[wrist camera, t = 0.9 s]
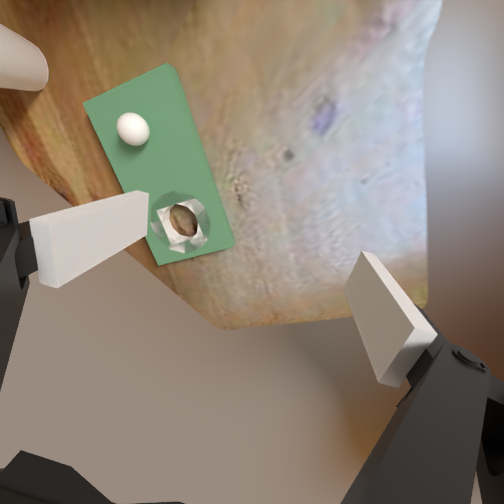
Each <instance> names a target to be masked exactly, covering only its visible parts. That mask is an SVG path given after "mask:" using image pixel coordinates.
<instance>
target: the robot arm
mask: <svg viewBox="0 0 504 504" xmlns="http://www.w3.org/2000/svg"><path fill="white" fill-rule="evenodd" d="M148 202H149V193H146V192H142V191H138V190H136V191H132V192H128V193H125V194H121V195H117V196H113V197H110V198H106V199H102V200H99V201H95V202H91V203H87V204H84V205H80V206H76V207H73V208H69V209H65V210H62V211H58V212H54V213H50V214H47V215H43V216H39V217H35V218H32V219H29V221H27V222H23V223H20V224H18V219H17V213H16V208H15V203H14V201H12V200H10V199H6V198H1V197H0V390H1V386H2V383H3V379H4V375H5V372H6V368H7V364H8V361H9V357H10V353H11V350H12V346H13V342H14V339H15V335H16V331H17V328H18V324H19V320H20V317H21V313H22V309H23V306H24V302H25V298H26V295H27V291H28V287H29V284H30V282H29V277H28V275H29V274H31V273H33V272H35V271H37V270H38V275H39V282H40V283H41V284H44V285H47V286H51V287H55V288H59V287H60V286H62V285H64V284H65V283H67V282H69V281H71V280H72V279H74V278H76V277H77V276H79V275H81V274H82V273H84V272H85V271H87V270H89V269H91V268H92V267H94V266H96V265H97V264H99V263H101V262H102V261H104V260H106V259H107V258H109V257H111V256H112V255H114V254H116V253H117V252H119V251H121V250H122V249H124V248H126V247H127V246H129V245H131V244H132V243H134V242H136V241H137V240H139V239H141V238H142V237H144V236H146V235H147V222H148ZM344 292H345V295H346V298H347V300H348V303H349V306H350V308H351V311H352V314H353V316H354V319H355V322H356V324H357V327H358V329H359V332H360V335H361V338H362V340H363V343H364V346H365V348H366V351H367V354H368V356H369V359H370V362H371V364H372V367H373V370H374V372H375V375H376V378H377V381H378V383H382V384H385V385H388V386H392V387H396V388H399V386H400V385H401V384H402V382H403V381H404V380H405V378H406V377H407V379H408V381H409V383H410V385H411V388H410V389H409V391H408V392H407V393H406V395H405V396H404V397H403V398H402V400H401V401H400V402H399V404H398V405H397V406H396V407H397V410H396V411H395V413H394V415H393V416H392V418H391V420H390V421H389V423H388V425H387V426H386V428H385V430H384V432H383V433H382V435H381V437H380V438H379V440H378V442H377V443H376V445H375V447H374V448H373V450H372V452H371V453H370V455H369V457H368V458H367V460H366V462H365V463H364V465H363V467H362V468H361V470H360V472H359V474H358V475H357V477H356V478H355V480H354V482H353V484H352V485H351V487H350V488H349V490H348V492H347V493H346V495H345V497H344V499H343V500H342V502H341V504H470V503H471V496H472V490H473V483H474V478H475V471H476V472H477V477H478V482H479V487H480V493H481V499H482V504H504V382H503V381H501V380H499V379H497V378H495V377H493V376H491V373H490V369H489V368H488V367H487V366H486V364H485V363H484V362H483V361H482V360H480V359H479V358H478V357H477V356H475V355H474V354H472V353H471V352H469V351H467V350H466V349H464V348H462V347H460V346H457V345H454V344H450V343H449V342H448V340H447V339H446V338H445V337H444V336H443V335H442V333H441V332H440V331H439V329H438V328H437V327H436V326H434V323H433V322H432V321H431V320H430V319H429V317H428V316H427V315H426V314H425V312H424V311H423V310H422V309H421V308H419V307H418V306H417V305H416V304H414V303H413V302H412V301H411V300H410V299H409V297H408V296H407V295H406V294H405V292H404V291H403V290H402V289H401V287H400V286H399V285H398V284H397V282H396V281H395V280H394V278H393V277H392V276H391V275H390V273H389V272H388V271H387V270H386V268H385V267H384V266H383V265H382V263H381V262H380V261H379V259H378V258H377V257H376V256H375V255H374V254H371V253H367V252H363V251H362V252H361V254H360V256H359V258H358V260H357V262H356V264H355V266H354V269H353V271H352V273H351V275H350V277H349V279H348V281H347V283H346V286H345V288H344ZM0 504H115V503H113V502H111V501H110V500H108V499H107V498H106V497H105V496H104V495H103V494H102V493H100V492H99V491H98V490H97V489H96V488H95V487H94V486H92V485H91V484H90V483H89V482H88V481H87V480H86V479H85V478H83V477H82V476H81V475H80V474H79V473H78V472H77V471H75V470H74V469H73V468H72V467H71V466H67V465H65V464H61V463H58V462H55V461H52V460H49V459H46V458H43V457H40V456H37V455H34V454H31V453H27V452H25V451H20V452H19V453H18V454H17V455H16V456H15V457H14V458H13V459H12V461H11V462H10V463H9V464H8V465H7V466H6V467H5V468H2V469H0ZM138 504H184V503H181V502H160V503H138Z"/></svg>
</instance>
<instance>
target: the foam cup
mask: <svg viewBox="0 0 504 504" xmlns="http://www.w3.org/2000/svg"><path fill="white" fill-rule="evenodd" d="M48 76H49V69H48V65H47V62H46V59H45V57H44V55H43V54H42V52H41V51H40V49H39V48H38V47H37V46H35V45H34V44H33V43H31V42H30V41H28V40H27V39H25V38H24V37H22V36H20V35H19V34H17V33H15V32H14V31H12V30H10V29H8V28H7V27H5V26H3V25H2V24H0V88H8V89H18V90H27V91H39V90H41V89H43V88H44V87H45V86H46V84H47V82H48Z"/></svg>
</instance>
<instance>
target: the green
mask: <svg viewBox="0 0 504 504" xmlns="http://www.w3.org/2000/svg"><path fill="white" fill-rule="evenodd" d="M83 105H84V108H85V110H86V112H87V114H88V116H89V118H90V120H91V123H92V125H93V127H94V129H95V131H96V133H97V135H98V138H99V140H100V142H101V144H102V146H103V148H104V150H105V152H106V155H107V157H108V159H109V161H110V163H111V165H112V167H113V170H114V172H115V174H116V176H117V178H118V180H119V182H120V185H121V187H122V189H123V191H124V193H128V192H132V191H136V190H138V191H142V192H146V193H149V202H148V222H147V235H146V236H145V238H146V240H147V242H148V244H149V247H150V249H151V251H152V253H153V255H154V257H155V259H156V262H157V264H158V266H159V265H163V264H167V263H171V262H175V261H179V260H183V259H187V258H191V257H195V256H199V255H203V254H207V253H211V252H215V251H219V250H223V249H228V248H232V247H233V245H234V244H235V240H234V237H233V234H232V231H231V228H230V225H229V222H228V219H227V216H226V214H225V211H224V208H223V205H222V202H221V199H220V196H219V193H218V190H217V187H216V184H215V182H214V179H213V176H212V173H211V170H210V167H209V164H208V161H207V158H206V155H205V152H204V150H203V147H202V144H201V141H200V138H199V135H198V132H197V129H196V126H195V123H194V120H193V118H192V115H191V112H190V109H189V106H188V103H187V100H186V97H185V94H184V91H183V88H182V85H181V83H180V80H179V77H178V74H177V71H176V69H175V68H174V67H173V66H171V65H170V64H169V63H165V64H163V65H161V66H159V67H157V68H155V69H153V70H150V71H148V72H146V73H144V74H142V75H140V76H138V77H136V78H134V79H132V80H130V81H128V82H126V83H123V84H121V85H119V86H117V87H115V88H113V89H111V90H109V91H107V92H105V93H103V94H101V95H98V96H96V97H94V98H92V99H90V100H88V101H86V102H84V103H83ZM125 113H135V114H138V115H140V116H141V117H142V118H143V119H144V120H145V121H146V122H147V124H148V126H149V130H150V135H149V138H148V140H147V141H146V142H145V143H144V144H142V145H139V146H134V145H130V144H128V143H126V142H125V141H124V140H123V139H122V138H121V137H120V136H119V134H118V131H117V121H118V119H119V117H120V116H121V115H123V114H125ZM175 204H179V205H183V206H187V207H188V208H189V209H190V210H191V211H192V212H193V213H194V214H195V216H196V219H197V221H198V229H197V233H196V234H195V235H194V236H190V237H187V236H183V235H180V234H179V233H177V232H176V231H175V230H174V229H173V228H172V225H171V223H170V221H169V215H170V210H171V209H172V207H173V206H174V205H175Z"/></svg>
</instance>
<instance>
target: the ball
mask: <svg viewBox="0 0 504 504" xmlns="http://www.w3.org/2000/svg"><path fill="white" fill-rule="evenodd" d="M117 131H118V134H119V136H120V137H121V138H122V139H123V140H124V141H125V142H126V143H128V144H130V145H134V146H139V145H142V144H144V143H145V142H146V141H147V140H148V138H149V135H150V130H149V126H148V124H147V122H146V121H145V120H144V119H143V118H142V117H141V116H140V115H138V114H135V113H125V114H123V115H121V116H120V117H119V119H118V121H117Z"/></svg>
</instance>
